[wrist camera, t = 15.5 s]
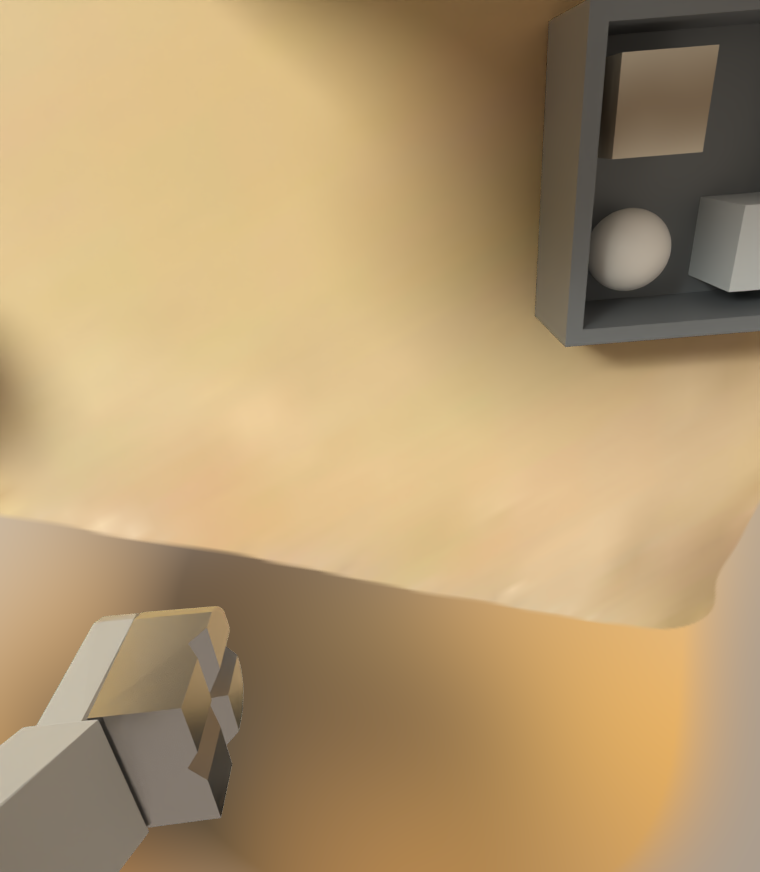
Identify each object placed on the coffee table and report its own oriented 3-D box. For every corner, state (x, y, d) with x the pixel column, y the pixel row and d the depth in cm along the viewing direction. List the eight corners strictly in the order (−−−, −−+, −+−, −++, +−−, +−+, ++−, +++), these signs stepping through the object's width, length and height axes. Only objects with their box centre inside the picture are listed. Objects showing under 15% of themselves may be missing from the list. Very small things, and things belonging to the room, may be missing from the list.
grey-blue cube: (700, 196, 31) (745, 205, 28) (777, 190, 31) (832, 198, 28) (688, 274, 33) (728, 292, 29) (760, 268, 33) (810, 285, 29)
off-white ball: (577, 206, 31) (606, 216, 28) (654, 200, 31) (693, 209, 28) (571, 284, 33) (598, 302, 29) (644, 278, 33) (679, 296, 29)
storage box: (548, 21, 28) (590, -3, 23) (848, -3, 28) (953, -32, 23) (534, 315, 34) (565, 346, 29) (778, 295, 34) (849, 323, 29)
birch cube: (588, 62, 28) (622, 52, 25) (673, 55, 28) (719, 44, 25) (581, 155, 30) (612, 159, 26) (661, 149, 30) (702, 152, 26)
